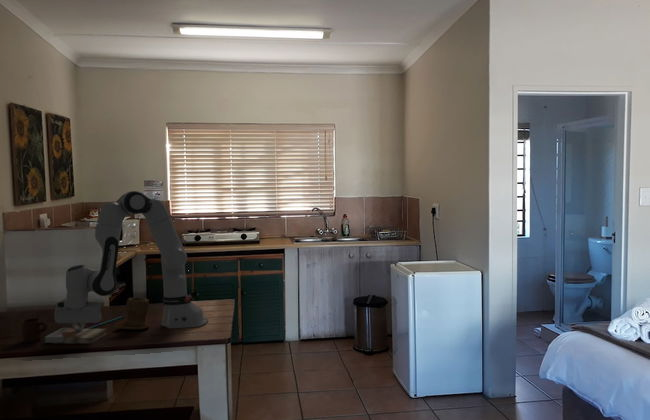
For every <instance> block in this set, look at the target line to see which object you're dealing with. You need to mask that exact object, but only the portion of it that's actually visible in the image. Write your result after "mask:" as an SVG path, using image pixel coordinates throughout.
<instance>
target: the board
mask: <svg viewBox="0 0 650 420" xmlns="http://www.w3.org/2000/svg"><path fill="white" fill-rule="evenodd" d="M106 335H108V328H91V329H86V328H83V332H82V333H79V334H77V335H75V336H74V337H64V338H63V342H64V343H63V344H93V343H94V342H97V341H99V340H101V338H104V336H106Z"/></svg>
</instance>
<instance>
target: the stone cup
mask: <svg viewBox="0 0 650 420" xmlns="http://www.w3.org/2000/svg"><path fill="white" fill-rule="evenodd" d="M149 301H150V300H149V299H147V298H146V297H129V298H127V300H126V303H125V304H126V305H125V306H126V307H125V308H126V309H125V310H126V315H127V319H126V320H124V321H119V322H116V323H115V324H114V325H113V329H115V330H116V329H117V330H127V331H128V330H144V329H147V328H149V327H150V325H151V324H150V323H149V322H147V321H146V317H147V315H148V311H149V307H150V306H149V305H150V302H149Z"/></svg>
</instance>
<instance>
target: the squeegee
mask: <svg viewBox="0 0 650 420" xmlns="http://www.w3.org/2000/svg"><path fill="white" fill-rule="evenodd" d="M121 319H124V316H123V315H121V316H119V317H115V318H113V319H110V320H107V321H105V322H101V321H100V322H98V323H89V324H92V325H93V324H94V325H93V326H90V327H87V328H85V329H95V328H96V327H99V326H102V325H106V324H109V323H111V322H114V321H115V322H116V321H118V320H121Z"/></svg>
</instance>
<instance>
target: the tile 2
mask: <svg viewBox="0 0 650 420" xmlns="http://www.w3.org/2000/svg"><path fill="white" fill-rule="evenodd" d="M77 334H79V333H75V329H68V330H66V331H64V332H62V337H74V336H75V335H77Z"/></svg>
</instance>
